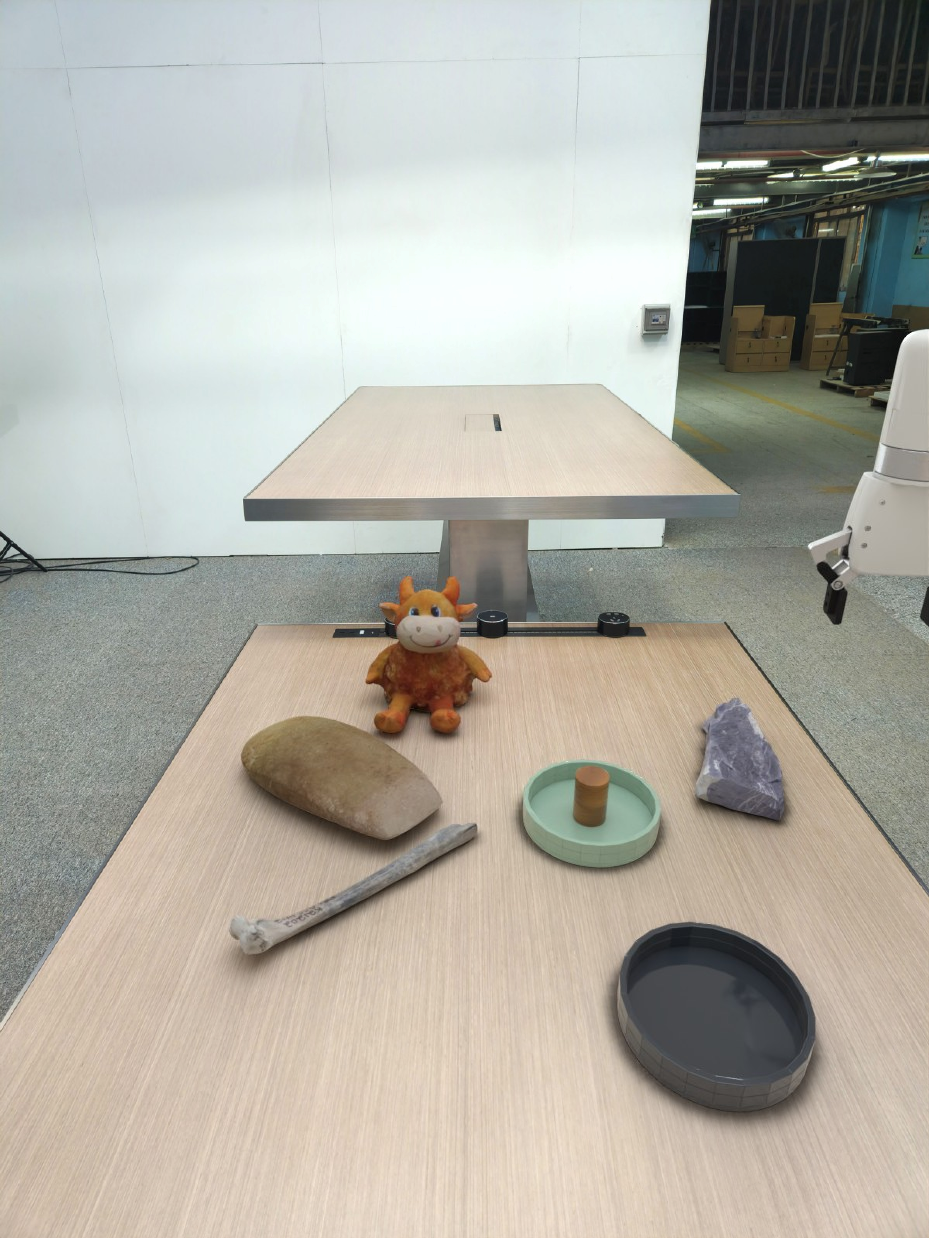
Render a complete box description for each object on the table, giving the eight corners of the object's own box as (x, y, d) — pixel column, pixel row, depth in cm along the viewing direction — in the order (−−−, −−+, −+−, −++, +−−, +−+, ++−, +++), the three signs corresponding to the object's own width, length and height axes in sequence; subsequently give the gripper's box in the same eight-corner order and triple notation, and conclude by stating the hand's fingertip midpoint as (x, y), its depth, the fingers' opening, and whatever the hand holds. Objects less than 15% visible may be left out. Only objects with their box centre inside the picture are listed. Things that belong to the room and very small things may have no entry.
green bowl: (680, 812, 92) (683, 791, 91) (617, 889, 81) (619, 866, 79) (567, 764, 102) (568, 745, 100) (496, 827, 90) (496, 806, 89)
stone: (372, 830, 81) (376, 873, 83) (460, 764, 91) (462, 804, 94) (211, 736, 98) (218, 773, 101) (300, 690, 109) (305, 725, 111)
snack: (611, 814, 91) (615, 773, 89) (595, 831, 88) (599, 790, 86) (583, 801, 93) (586, 761, 91) (566, 817, 91) (568, 777, 88)
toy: (333, 723, 105) (363, 555, 111) (379, 742, 125) (401, 600, 132) (467, 738, 101) (489, 563, 107) (491, 755, 121) (508, 608, 128)
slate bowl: (831, 1006, 68) (838, 981, 66) (772, 1156, 56) (779, 1129, 55) (664, 919, 77) (667, 896, 76) (583, 1033, 65) (586, 1007, 64)
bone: (459, 823, 91) (459, 790, 89) (483, 842, 88) (483, 808, 86) (230, 948, 74) (223, 910, 72) (249, 977, 71) (243, 939, 69)
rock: (785, 828, 90) (792, 793, 87) (692, 810, 93) (697, 776, 91) (777, 721, 111) (783, 691, 109) (702, 710, 114) (706, 680, 112)
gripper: (994, 457, 76) (951, 612, 83) (814, 454, 78) (787, 604, 85) (1034, 474, 69) (984, 641, 76) (836, 470, 71) (805, 632, 78)
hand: (880, 622), depth 81 cm, fingers open, 9 cm apart
